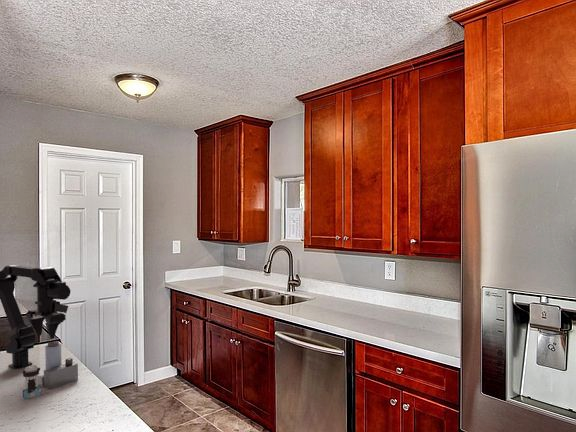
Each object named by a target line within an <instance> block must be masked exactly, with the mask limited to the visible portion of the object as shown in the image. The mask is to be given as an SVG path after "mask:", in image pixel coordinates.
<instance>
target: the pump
mask: <svg viewBox="0 0 576 432" xmlns="http://www.w3.org/2000/svg"><path fill="white" fill-rule="evenodd" d="M44 351H45V357H44V358H45V370H47V369H50V368H54V367H57V366H60V365H63V363H62V344H61V343H60V341H58V340H57V341H55V340H53V341H50V342H47V345H46V346H45V347H44Z"/></svg>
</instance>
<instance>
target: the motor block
mask: <svg viewBox="0 0 576 432" xmlns="http://www.w3.org/2000/svg"><path fill="white" fill-rule="evenodd" d="M73 360H74V359H73V358H71V357H69V358H68V357H67V358H66V359H65V361H64V364H63V363H62V365H60V366H57V367H54V368H50V369H47V370H46V369H44V370H43V374H41V373H39V374H38V375H37V385H38V387H42V388H43V387H44V388H45V389H48V390H53V389H55V388H58V387H61V386H64V385H67V384H71V383H73V382H75V381H78V380H79V365H78V363H76V362H73Z"/></svg>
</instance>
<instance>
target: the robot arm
mask: <svg viewBox="0 0 576 432" xmlns="http://www.w3.org/2000/svg"><path fill="white" fill-rule="evenodd" d="M18 277H22V278H23V277H24V278H30V279H31V281H34V282H35V283H34V284H33V285H32V286H33V288H36V295H37V296H36V300H35V301H34V305H36V306H37V307H36V309H35V308H34V309H30V310H28V311H27V312H26V314H25V318H26V319H28V321H29V322H30V324H31V325H29V326H28V325H27V324H26V322H25V319H24V318H23V314H22V313H21V309H20V307H19V304H18V303H17V299H16V297H15V295H14V291H15V288H16V285H15V283H16V281H17V280H18ZM70 295H71V289H70V286H69V285H67V282H66V281H62V279H61V277H60V276H59V274H58V272H57V270H56V269H55V267H54V266H53V265H52V266H51V265H50V266H42V267H32V266H26V265H18V264H12V265H11V264H10V265H6V266H4V267H3V268H2V270H0V302H1V306H2V308H3V310H4V313H5V315H6V318H7V320H8V321H7V322H8V324H9V326H10V328H11V331H10V336H9V339H10V340H9V341H10V342H9V343H8V344H7V346H6V347H5V351H6V354H11V357H12V358H11V361H12V363H10V364H8V367H9V368H12V369H14V370H15V369H20V368H23V367H28V366H32V365H33V362H31V361H29V350H30V349H34V346H35V343H36V340H37V336H42V333H43V325H45V327H46V330H47V332H48V333H47V334H48V336H49V338H50V339H51V340H52V339H54V338H55V336H56V333H57V331H58V327H59V326H60V325H61V323H64V321H66V320H67V319H66V314H67V312H68V310H69V305H66V304H61V302H60V301H59V300H62V301H63V300H67V299H68V298H69V297H70ZM57 300H58V301H57ZM44 321H45V324H44ZM36 335H37V336H36Z"/></svg>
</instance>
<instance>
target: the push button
mask: <svg viewBox="0 0 576 432" xmlns="http://www.w3.org/2000/svg"><path fill="white" fill-rule="evenodd" d="M40 371H41V367H38V365H36V364H35V365H33V364H32V365H28V366H25V368H24V369H23V370H22V371H21V373H22V377H24V379H25V380H24V381H25V382H24V388H23V389H22V398H23V399H24V400H26V399H31V398H35V397H39V396H40V395H41V394H42V393H45V390H46V388H45V387H44V388H40V386H39V385H37V375H38V374H40Z"/></svg>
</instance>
